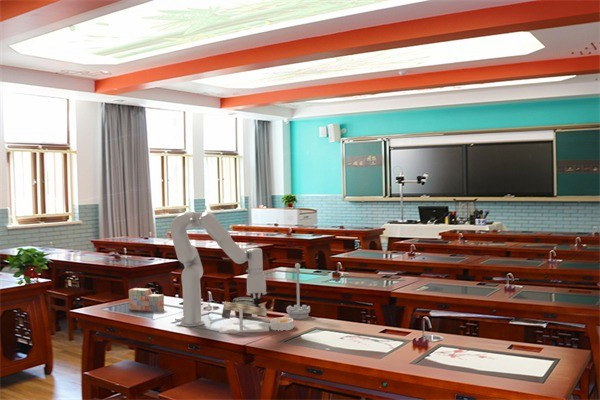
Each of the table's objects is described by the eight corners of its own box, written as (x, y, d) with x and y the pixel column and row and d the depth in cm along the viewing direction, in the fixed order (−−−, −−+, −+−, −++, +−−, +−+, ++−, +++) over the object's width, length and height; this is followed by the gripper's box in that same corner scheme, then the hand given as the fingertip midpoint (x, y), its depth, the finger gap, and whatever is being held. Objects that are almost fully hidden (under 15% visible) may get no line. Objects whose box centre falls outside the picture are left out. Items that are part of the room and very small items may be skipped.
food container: (256, 314, 336) (256, 297, 335) (254, 316, 330) (254, 299, 329) (235, 314, 337) (234, 296, 337) (232, 316, 331) (232, 299, 330)
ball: (281, 319, 301) (288, 320, 302) (280, 317, 305) (287, 318, 306) (279, 326, 301) (286, 328, 302) (278, 324, 305) (286, 326, 306)
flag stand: (307, 319, 321) (306, 265, 320) (284, 319, 323) (283, 264, 322) (312, 314, 333) (311, 261, 333) (289, 313, 336) (288, 261, 335)
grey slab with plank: (221, 317, 297) (224, 304, 297) (222, 310, 314) (225, 297, 314) (264, 324, 299) (266, 311, 299) (263, 316, 317) (265, 304, 317)
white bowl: (271, 331, 297) (270, 323, 297) (269, 325, 309) (269, 317, 309) (294, 330, 298) (294, 322, 298) (292, 324, 310) (292, 317, 310)
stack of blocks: (164, 310, 352) (163, 289, 352) (157, 312, 346) (157, 291, 346) (135, 307, 361) (135, 287, 360) (128, 309, 355) (128, 289, 355)
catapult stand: (219, 333, 294) (218, 311, 294) (220, 327, 306) (219, 306, 306) (269, 331, 297) (268, 309, 296) (267, 325, 309) (267, 304, 308)
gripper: (241, 273, 309) (243, 307, 309) (270, 271, 310) (271, 306, 311) (241, 271, 316) (242, 304, 317) (269, 269, 318) (270, 303, 318)
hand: (257, 305), depth 314 cm, fingers closed
